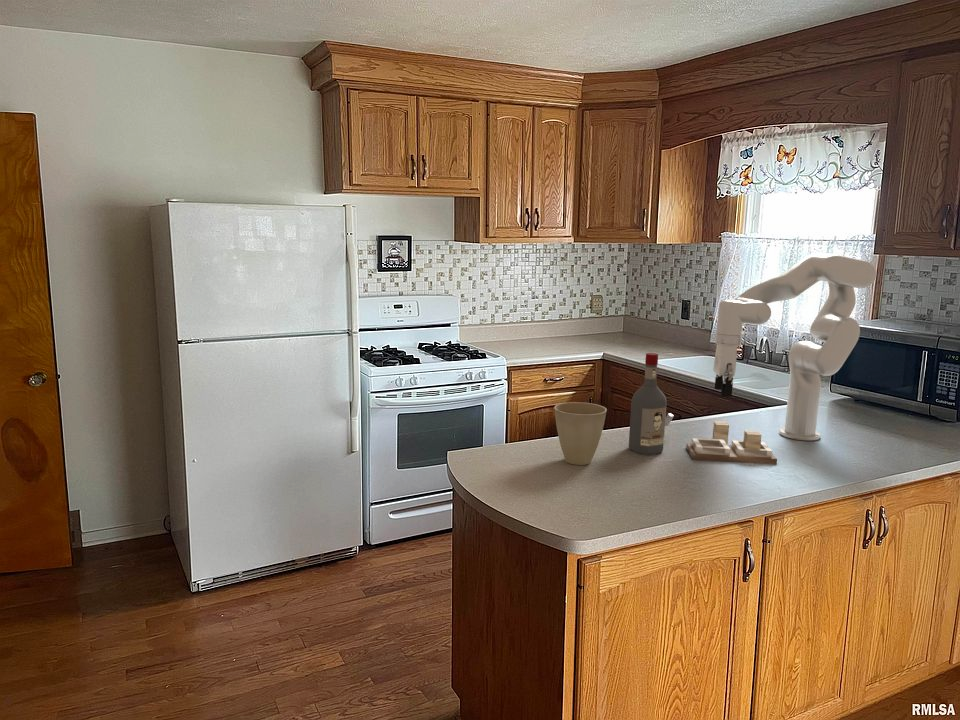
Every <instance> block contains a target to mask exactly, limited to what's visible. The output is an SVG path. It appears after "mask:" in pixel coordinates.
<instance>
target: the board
mask: <svg viewBox="0 0 960 720" xmlns="http://www.w3.org/2000/svg"><path fill="white" fill-rule="evenodd" d="M686 447H687V448H686V449H688V450H687V451H688V453H689V455H690V456H691V458H693V459H692V461H693V460H694V461H695V460H696V461H709V462H711V461H712V462H714V461H715V462H728V463H729V462H730V463H753V464H769V465H772V464H773V465H777V464H778V458H777V456H776V455H774V454H773V450H772V449H771V448H770V447H769V446H768V445H767V444H766V442H765V441H762V433H761V432H760V431H759V430H744V431H743V440H741V439H740V440H739V439H737V440H736V439H732V440H731V444H728V443H726V442H725V441H724V440H722V439H712V438H697V437H696V438H695V437H692V438H691V442H686Z"/></svg>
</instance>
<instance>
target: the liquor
mask: <svg viewBox="0 0 960 720" xmlns="http://www.w3.org/2000/svg"><path fill="white" fill-rule="evenodd" d="M658 364H659V353H655V352H647V353H645V364H644V365H645V368H644V369H645V371H644V380H643V383H642V386H640V387H639V388H638V389H637V390H636V391H635V393H633V395H632V398H631V403H630V416H629V417H630V418H629V419H630V420H629V435H628V449H629V450H630V451H632V452H634V453H637V454H639V455H644V456H651V455H657V454H662V452H663V449H664V446H665V445H664V443H665V435H664V431H665V432H666V426H665V418H666V417H667V413H666V412H667V397H666V395H665V393H663V391H662V390H661V389H660V388H659V386H658V383H657V370H658Z"/></svg>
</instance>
